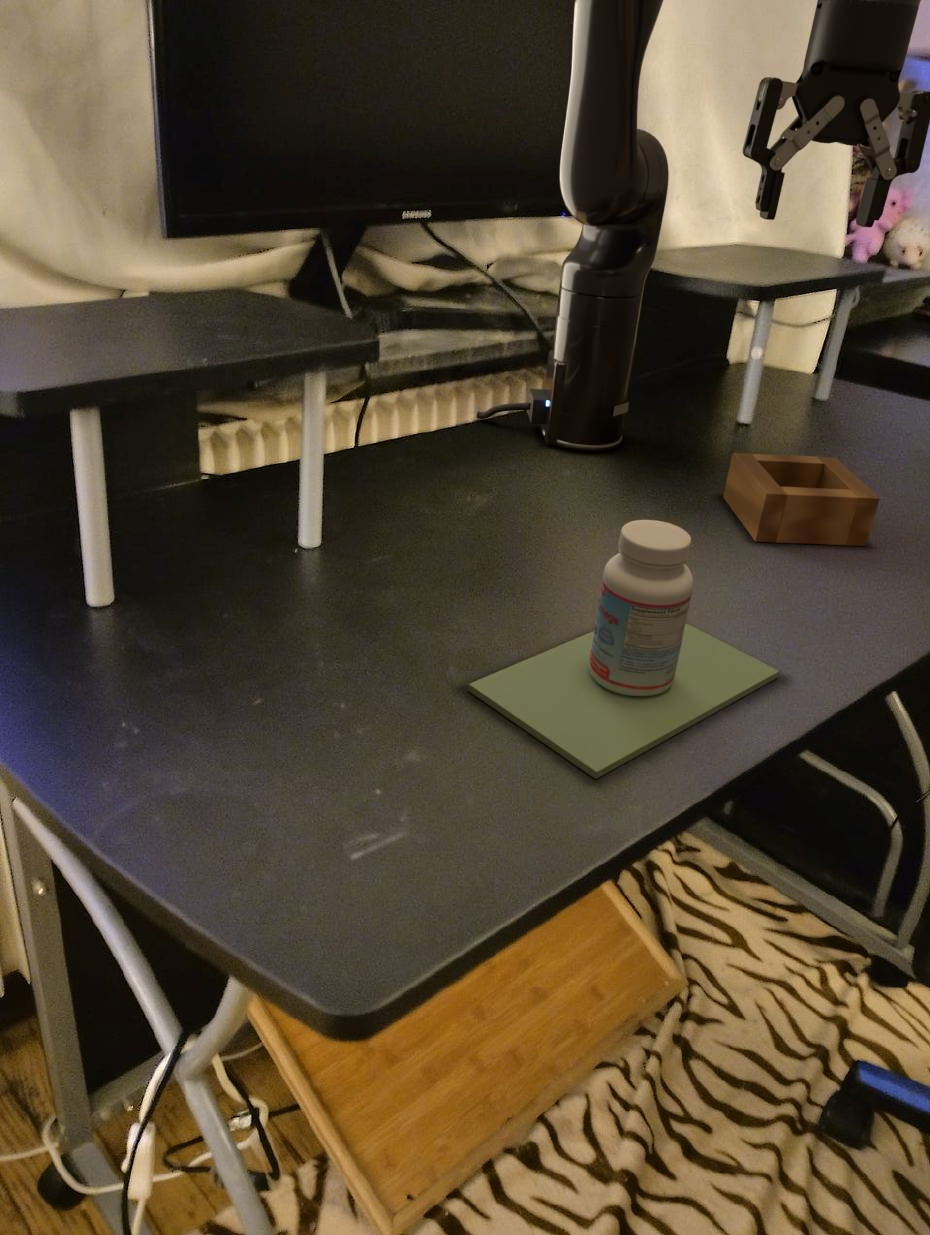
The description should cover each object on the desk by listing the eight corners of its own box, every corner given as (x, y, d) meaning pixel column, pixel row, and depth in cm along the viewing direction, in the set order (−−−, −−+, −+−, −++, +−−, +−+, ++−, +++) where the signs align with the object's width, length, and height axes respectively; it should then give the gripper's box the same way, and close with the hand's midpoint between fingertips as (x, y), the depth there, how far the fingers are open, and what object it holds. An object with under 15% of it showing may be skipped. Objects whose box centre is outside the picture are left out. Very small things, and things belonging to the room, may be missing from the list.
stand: (755, 542, 94) (766, 493, 91) (722, 497, 103) (732, 452, 101) (866, 546, 95) (880, 498, 92) (823, 501, 104) (835, 457, 102)
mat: (595, 779, 61) (596, 771, 60) (467, 690, 68) (468, 683, 68) (777, 677, 72) (779, 670, 72) (651, 611, 80) (653, 605, 80)
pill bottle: (584, 651, 73) (605, 511, 67) (666, 657, 73) (694, 518, 67) (591, 697, 67) (614, 549, 62) (679, 703, 67) (710, 556, 62)
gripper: (935, 9, 80) (877, 222, 88) (764, -8, 79) (721, 209, 87) (981, 6, 73) (914, 236, 81) (795, -13, 72) (746, 222, 80)
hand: (815, 222), depth 84 cm, fingers open, 8 cm apart
